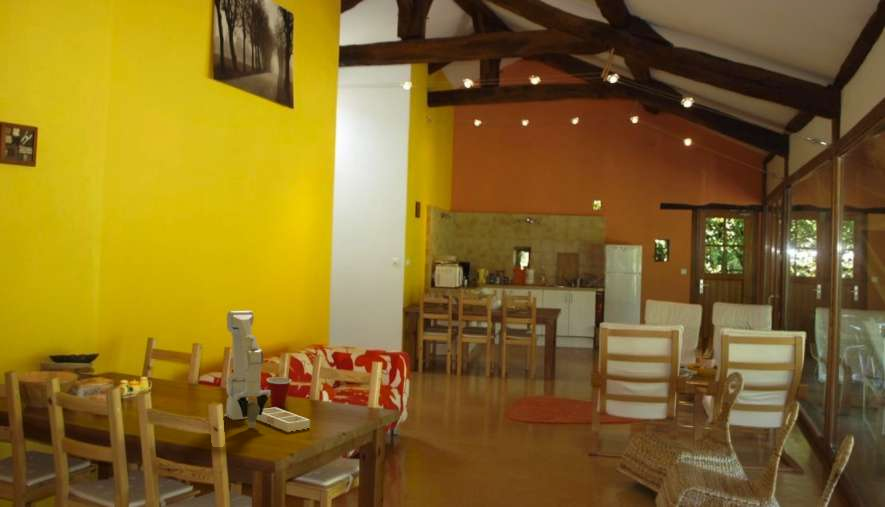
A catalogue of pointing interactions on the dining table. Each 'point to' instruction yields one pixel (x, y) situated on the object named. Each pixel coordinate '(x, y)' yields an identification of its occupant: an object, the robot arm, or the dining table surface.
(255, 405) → the light bulb
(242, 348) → the robot arm
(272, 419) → the rack
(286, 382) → the plastic cup
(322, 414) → the dining table surface
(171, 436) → the dining table surface
